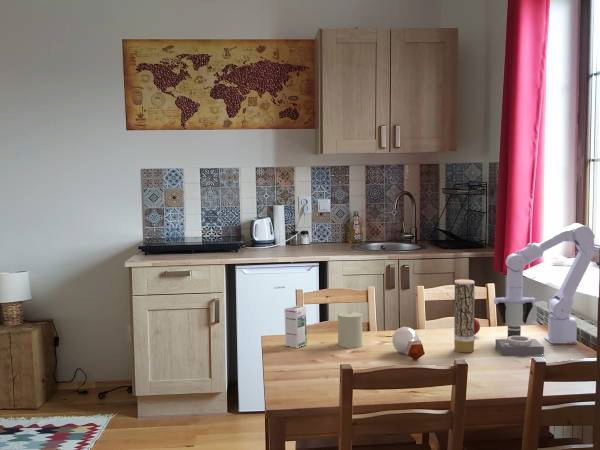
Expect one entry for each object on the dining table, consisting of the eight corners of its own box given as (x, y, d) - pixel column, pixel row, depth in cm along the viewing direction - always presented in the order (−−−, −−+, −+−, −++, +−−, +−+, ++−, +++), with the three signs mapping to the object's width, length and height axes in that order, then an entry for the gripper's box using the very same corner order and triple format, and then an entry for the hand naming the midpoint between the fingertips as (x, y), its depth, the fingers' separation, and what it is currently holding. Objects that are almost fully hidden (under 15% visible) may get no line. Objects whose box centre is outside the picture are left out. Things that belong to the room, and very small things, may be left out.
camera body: (534, 346, 249) (534, 334, 249) (543, 355, 239) (543, 342, 239) (495, 347, 250) (495, 334, 249) (502, 355, 240) (502, 342, 239)
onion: (481, 338, 263) (481, 317, 262) (466, 338, 263) (466, 317, 262) (477, 334, 269) (478, 313, 268) (462, 334, 269) (463, 313, 268)
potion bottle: (403, 352, 250) (419, 369, 236) (382, 339, 247) (397, 355, 233) (418, 331, 250) (435, 347, 236) (398, 318, 247) (413, 333, 233)
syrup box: (297, 348, 252) (297, 309, 251) (285, 346, 256) (284, 307, 254) (307, 345, 257) (306, 306, 255) (294, 342, 260) (293, 304, 259)
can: (362, 341, 261) (362, 310, 259) (362, 348, 252) (362, 315, 250) (338, 341, 262) (337, 310, 260) (337, 348, 252) (336, 315, 251)
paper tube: (474, 353, 242) (474, 283, 240) (454, 353, 243) (454, 282, 241) (473, 348, 249) (474, 279, 246) (454, 347, 250) (454, 279, 248)
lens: (518, 339, 260) (518, 324, 260) (522, 342, 256) (522, 327, 255) (506, 339, 261) (506, 324, 260) (509, 342, 256) (509, 327, 255)
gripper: (531, 284, 260) (530, 320, 261) (492, 284, 261) (491, 320, 262) (537, 288, 253) (536, 324, 254) (496, 288, 253) (496, 324, 255)
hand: (514, 322), depth 258 cm, fingers open, 7 cm apart
